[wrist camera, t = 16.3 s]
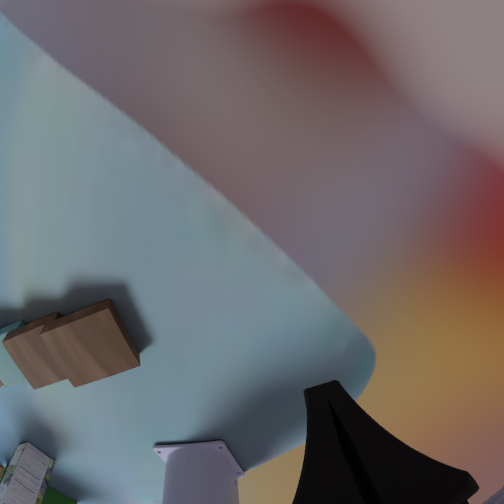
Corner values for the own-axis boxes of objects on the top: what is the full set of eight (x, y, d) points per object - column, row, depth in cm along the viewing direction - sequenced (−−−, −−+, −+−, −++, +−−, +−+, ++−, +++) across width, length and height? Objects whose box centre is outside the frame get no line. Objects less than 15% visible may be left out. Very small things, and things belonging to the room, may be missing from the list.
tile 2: (54, 320, 17) (1, 342, 15) (86, 371, 18) (34, 389, 17) (58, 311, 18) (7, 333, 16) (87, 360, 20) (37, 378, 18)
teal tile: (49, 364, 20) (9, 377, 18) (22, 319, 18) (-17, 336, 16) (46, 374, 18) (5, 387, 17) (16, 328, 17) (-23, 344, 15)
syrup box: (44, 463, 27) (24, 524, 14) (17, 443, 26) (-8, 504, 12) (56, 461, 27) (35, 529, 13) (26, 439, 25) (-1, 507, 11)
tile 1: (108, 307, 17) (39, 334, 15) (140, 365, 18) (74, 387, 17) (110, 298, 18) (44, 324, 16) (139, 353, 20) (76, 375, 18)
